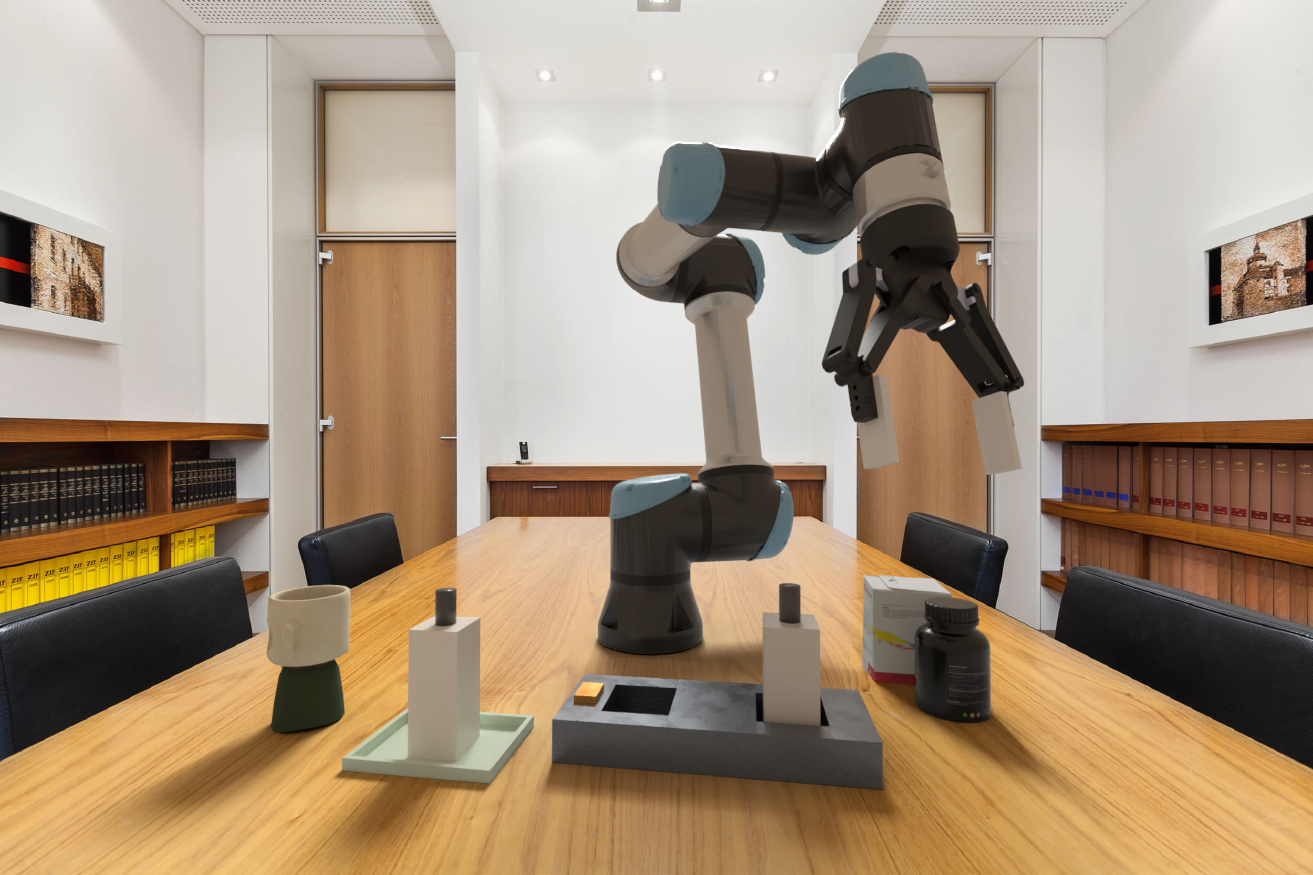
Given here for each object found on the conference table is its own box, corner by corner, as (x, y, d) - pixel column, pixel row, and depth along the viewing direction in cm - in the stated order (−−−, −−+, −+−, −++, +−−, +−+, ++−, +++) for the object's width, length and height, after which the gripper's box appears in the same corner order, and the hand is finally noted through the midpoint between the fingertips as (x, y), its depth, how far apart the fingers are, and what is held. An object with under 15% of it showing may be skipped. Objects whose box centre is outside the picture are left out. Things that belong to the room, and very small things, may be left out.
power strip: (584, 724, 59) (584, 667, 59) (858, 744, 55) (858, 683, 55) (552, 780, 49) (552, 711, 49) (883, 809, 45) (882, 734, 45)
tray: (409, 721, 60) (409, 706, 60) (533, 731, 58) (533, 715, 58) (341, 776, 50) (342, 758, 50) (489, 789, 48) (489, 770, 48)
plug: (434, 732, 56) (435, 583, 57) (479, 736, 56) (480, 585, 56) (407, 757, 52) (408, 595, 52) (456, 761, 51) (457, 596, 51)
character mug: (293, 703, 64) (295, 581, 64) (364, 699, 65) (366, 579, 65) (240, 755, 53) (241, 608, 53) (326, 749, 54) (327, 605, 55)
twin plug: (762, 735, 54) (762, 578, 54) (814, 739, 53) (813, 580, 53) (764, 761, 49) (763, 590, 49) (820, 765, 49) (819, 592, 49)
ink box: (955, 701, 65) (954, 591, 65) (871, 695, 66) (871, 587, 67) (934, 672, 73) (933, 575, 73) (861, 667, 75) (860, 572, 75)
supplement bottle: (902, 709, 63) (901, 594, 63) (964, 706, 63) (963, 592, 63) (938, 741, 56) (937, 611, 56) (1007, 738, 56) (1006, 610, 57)
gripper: (820, 161, 43) (859, 450, 38) (1038, 232, 53) (1092, 465, 48) (759, 219, 49) (786, 472, 44) (964, 272, 60) (1005, 481, 55)
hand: (946, 469), depth 46 cm, fingers open, 13 cm apart
